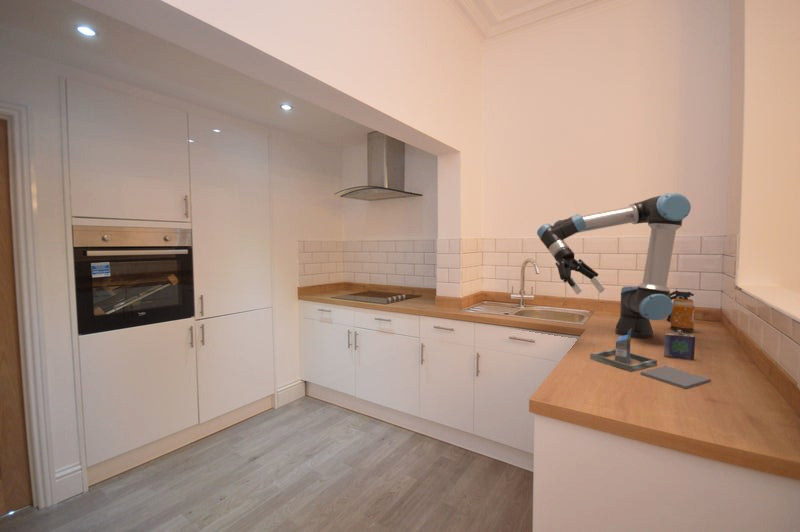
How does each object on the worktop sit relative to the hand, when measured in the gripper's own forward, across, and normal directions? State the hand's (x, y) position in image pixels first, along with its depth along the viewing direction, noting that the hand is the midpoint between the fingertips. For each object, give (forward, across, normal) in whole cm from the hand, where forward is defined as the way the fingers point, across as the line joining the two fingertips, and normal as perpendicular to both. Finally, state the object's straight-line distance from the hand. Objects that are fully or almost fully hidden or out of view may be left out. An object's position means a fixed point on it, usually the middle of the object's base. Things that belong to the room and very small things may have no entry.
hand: (591, 291), depth 141 cm
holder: (+27, +1, -7) cm, 28 cm away
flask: (+31, -23, -2) cm, 39 cm away
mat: (+39, +1, +5) cm, 40 cm away
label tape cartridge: (+27, +1, -7) cm, 28 cm away
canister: (+14, -71, -19) cm, 75 cm away
